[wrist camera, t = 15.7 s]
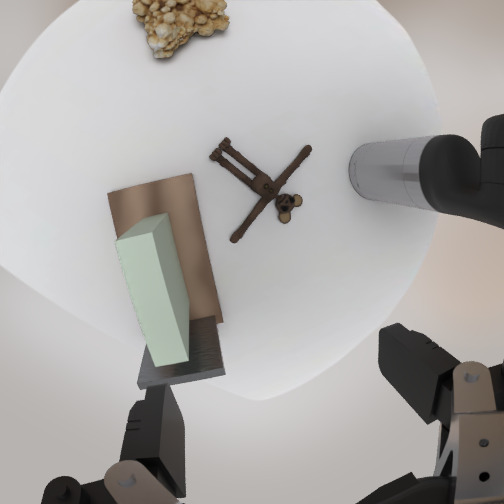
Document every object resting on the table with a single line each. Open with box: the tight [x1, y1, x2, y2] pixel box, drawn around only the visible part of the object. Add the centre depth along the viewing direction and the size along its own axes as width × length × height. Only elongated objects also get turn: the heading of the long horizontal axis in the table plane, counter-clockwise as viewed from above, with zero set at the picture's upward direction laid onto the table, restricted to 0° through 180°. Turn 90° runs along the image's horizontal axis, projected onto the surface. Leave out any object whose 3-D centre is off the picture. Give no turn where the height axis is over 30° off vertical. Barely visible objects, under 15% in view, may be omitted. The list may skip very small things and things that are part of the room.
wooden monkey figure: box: [209, 137, 312, 243], centre depth 43 cm, size 18×4×14 cm
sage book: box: [115, 212, 190, 367], centre depth 35 cm, size 4×13×16 cm, turn 11°
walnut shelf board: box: [107, 173, 223, 324], centre depth 44 cm, size 12×22×2 cm, turn 10°
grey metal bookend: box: [137, 315, 226, 390], centre depth 39 cm, size 10×1×14 cm, turn 100°
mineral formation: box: [132, 0, 230, 58], centre depth 33 cm, size 8×13×15 cm
